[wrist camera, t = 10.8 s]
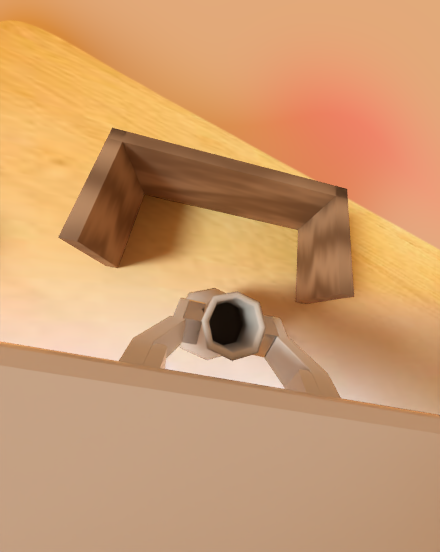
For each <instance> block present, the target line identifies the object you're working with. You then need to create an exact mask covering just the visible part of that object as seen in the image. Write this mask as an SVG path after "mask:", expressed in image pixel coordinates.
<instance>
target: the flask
mask: <svg viewBox="0 0 440 552" xmlns="http://www.w3.org/2000/svg"><path fill="white" fill-rule="evenodd" d="M186 299H189V300H194V301H199V302H203V303H205V309H204V315H203V318H202V320H201V321H202V325H201V329H200V333H199V338H198V341H197V345H196V344H190V343H183V342H182V343H181V344H180V348H182V349H184V350H186V351H188V352H190V353H193V354H195V355H197V356H199V357H201V358H203V359H205V360H209V359H213V358H216V357H220V356H223V357H226V358H228V359H230V360H232V361H233V360H236V359H240V358H243V357H246V356H250V355H253V354H257V353H258V351H259V348H260V345H261V342H262V339H263V336H264V333H265V330H266V324H265V320H264V317H263V313H262V309H261V306H260V302H258V301H256V300H254V299H252V298H250V297H248V296H246V295H244V294H242V293H240V292H238V291H237V292H232V293H227V294H226V293H224V292H222V291H220V290H218V289H216V288H212V289H207V290H202V291H196V292H191V293H189V294H188V296H187V298H186Z"/></svg>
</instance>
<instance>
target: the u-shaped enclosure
mask: <svg viewBox="0 0 440 552" xmlns="http://www.w3.org/2000/svg"><path fill="white" fill-rule="evenodd" d="M144 194H145V195H149V196H154V197H158V198H163V199H167V200H171V201H176V202H180V203H184V204H189V205H193V206H197V207H202V208H206V209H210V210H215V211H219V212H223V213H228V214H232V215H236V216H241V217H245V218H249V219H254V220H258V221H262V222H267V223H271V224H275V225H280V226H284V227H288V228H293V229H297V230H298V251H297V281H296V302H299V303H304V304H308V303H314V302H321V301H328V300H334V299H341V298H347V297H354V289H353V273H352V258H351V243H350V228H349V213H348V198H347V189H345V188H341V187H338V186H333V185H330V184H326V183H322V182H318V181H315V180H311V179H307V178H303V177H299V176H295V175H291V174H288V173H284V172H280V171H276V170H272V169H268V168H265V167H261V166H257V165H253V164H249V163H245V162H242V161H238V160H234V159H230V158H226V157H222V156H218V155H215V154H211V153H207V152H203V151H199V150H195V149H192V148H188V147H184V146H180V145H176V144H172V143H169V142H165V141H161V140H157V139H153V138H149V137H146V136H142V135H138V134H134V133H130V132H126V131H122V130H119V129H115V128H112V130H111V132H110V134H109V136H108V138H107V140H106V142H105V144H104V146H103V148H102V150H101V152H100V154H99V156H98V158H97V160H96V162H95V164H94V166H93V168H92V170H91V172H90V174H89V176H88V178H87V180H86V182H85V184H84V186H83V188H82V190H81V193H80V195H79V197H78V199H77V201H76V203H75V205H74V207H73V209H72V211H71V213H70V215H69V217H68V219H67V221H66V223H65V225H64V227H63V229H62V231H61V233H60V235H59V237H58V238H60V239H62V240H63V241H65V242H67V243H69V244H70V245H72V246H74V247H75V248H77V249H79V250H80V251H82V252H84V253H85V254H87V255H89V256H90V257H92V258H94V259H95V260H97V261H99V262H100V263H102V264H104V265H105V266H110V267H115V268H118V266H119V263H120V261H121V258H122V255H123V252H124V250H125V247H126V244H127V241H128V238H129V236H130V233H131V230H132V227H133V224H134V222H135V219H136V216H137V213H138V210H139V208H140V205H141V202H142V199H143V196H144Z"/></svg>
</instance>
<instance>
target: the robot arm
mask: <svg viewBox="0 0 440 552" xmlns="http://www.w3.org/2000/svg"><path fill="white" fill-rule="evenodd" d="M204 309H205V303H203V302H199V301H194V300H189V299H185V298H181V299H180V300H179V303H178V305H177V308H176V310H175V313H174V315H173V316H169V317H168V318H166V319H164V320H163V321H161V322H159V323H158V324H156V325H154V326H153V327H151V328H149V329H148V330H146V331H144V332H143V333H141V334H139V335H138V336H136V337H134V338H133V339H132V341H131V342H130V344H129V345H128V347H127V349H126V350H125V352H124V354H123V355H122V357H121V358H120V360H119V361H114V360H108V359H102V358H96V357H90V356H84V355H78V354H72V353H66V352H60V351H54V350H48V349H42V348H36V347H30V346H24V345H18V344H12V343H6V342H0V552H440V415H437V414H431V413H425V412H419V411H413V410H407V409H401V408H395V407H389V406H383V405H377V404H371V403H365V402H359V401H353V400H347V399H341V397H340V396H339V394H338V392H337V390H336V388H335V386H334V384H333V383H332V381H331V379H330V377H329V375H328V373H327V372H326V371H324V370H323V369H322V368H321V367H320V366H319V365H318V364H317V363H316V362H315V361H314V360H313V359H312V358H311V357H310V356H308V355H307V354H306V353H305V352H304V351H303V350H302V349H301V348H300V347H299V346H298V345H297V344H296V343H295V342H294V341H293V340H291V339H289V338H288V336H287V334H286V331H285V329H284V326H283V324H282V321H281V319H280V318H279V317H273V316H267V315H263V317H264V320H265V324H266V330H265V333H264V336H263V339H262V342H261V345H260V348H259V351H258V353H257V354H253V355H256V356H261V357H265V359H266V361H267V362H268V364H269V365H270V367H271V368H272V370H273V371H274V373H275V374H276V376H277V377H278V379H279V380H280V382H281V383H282V384H283V386H284V387H285V389H281V388H275V387H269V386H263V385H257V384H251V383H245V382H239V381H233V380H227V379H221V378H215V377H210V376H204V375H198V374H192V373H186V372H180V371H174V370H168V369H165V363H166V358H167V357H168V356H169V355H170V354H171V353H172V352H173V351H174V350H175V349H176V348H177V347H178V346H179V345H180V344H181V343H182V342H183V343H190V344H196V345H197V341H198V338H199V333H200V329H201V325H202V321H201V320H202V318H203V315H204Z"/></svg>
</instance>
